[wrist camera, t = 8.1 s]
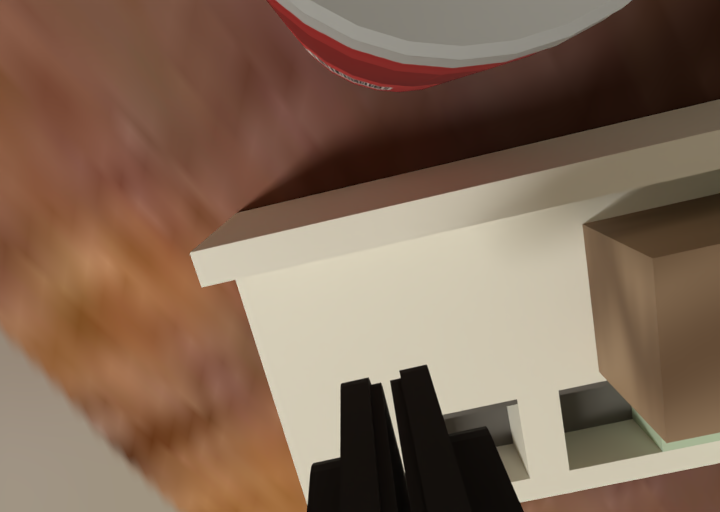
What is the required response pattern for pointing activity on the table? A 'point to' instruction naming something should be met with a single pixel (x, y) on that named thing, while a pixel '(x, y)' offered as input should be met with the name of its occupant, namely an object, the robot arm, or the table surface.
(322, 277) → the trap box
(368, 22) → the canned food
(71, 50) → the table surface
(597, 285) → the block
